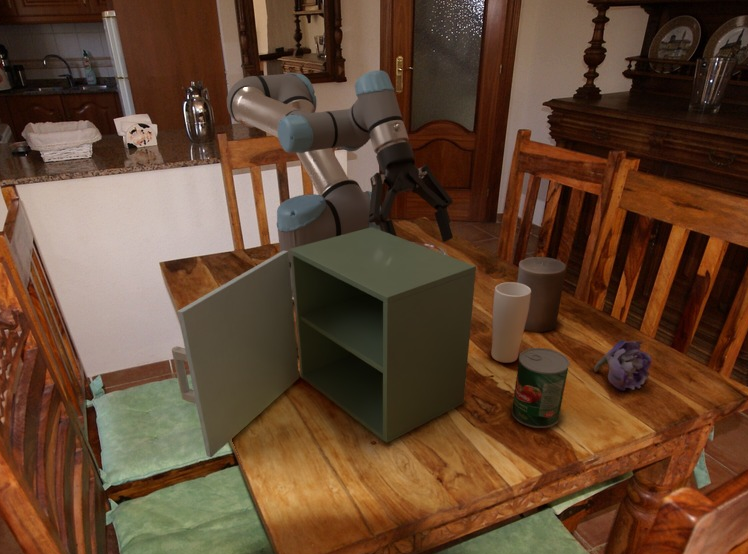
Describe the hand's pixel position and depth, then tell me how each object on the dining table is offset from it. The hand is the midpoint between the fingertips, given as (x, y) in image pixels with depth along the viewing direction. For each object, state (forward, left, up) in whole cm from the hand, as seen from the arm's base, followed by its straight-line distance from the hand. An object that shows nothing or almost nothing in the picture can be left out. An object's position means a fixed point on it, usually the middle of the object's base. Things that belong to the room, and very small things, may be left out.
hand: (422, 246), depth 120 cm
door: (+5, -47, -18) cm, 50 cm away
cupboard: (+15, -24, -18) cm, 34 cm away
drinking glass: (+22, +3, -18) cm, 29 cm away
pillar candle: (+16, +20, -18) cm, 31 cm away
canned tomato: (+38, -8, -18) cm, 43 cm away
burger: (-9, -28, -18) cm, 35 cm away
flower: (+41, +12, -18) cm, 46 cm away
